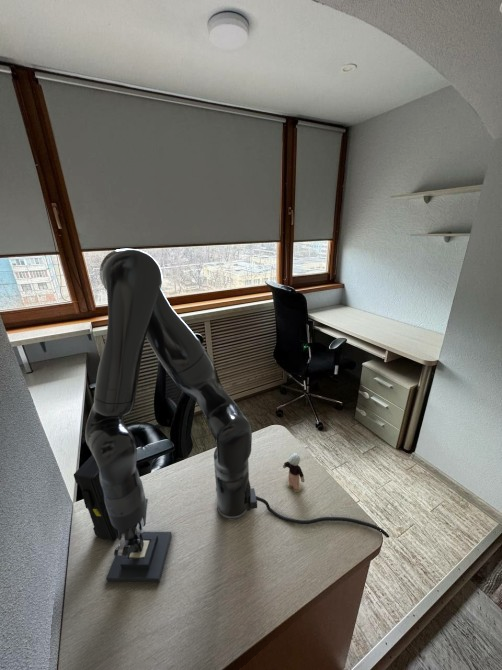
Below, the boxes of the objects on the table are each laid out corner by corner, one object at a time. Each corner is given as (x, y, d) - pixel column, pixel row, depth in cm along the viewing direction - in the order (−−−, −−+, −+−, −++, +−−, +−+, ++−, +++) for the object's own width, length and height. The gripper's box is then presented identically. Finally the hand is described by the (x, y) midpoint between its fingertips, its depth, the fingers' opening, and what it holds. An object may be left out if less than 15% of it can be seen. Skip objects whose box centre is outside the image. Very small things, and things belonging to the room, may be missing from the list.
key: (150, 544, 67) (149, 540, 66) (145, 561, 63) (144, 557, 63) (136, 544, 67) (135, 540, 66) (130, 561, 63) (128, 557, 63)
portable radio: (112, 546, 68) (89, 475, 59) (92, 541, 69) (65, 471, 60) (131, 516, 75) (113, 448, 66) (112, 512, 76) (91, 444, 67)
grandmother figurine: (306, 486, 83) (309, 456, 78) (302, 496, 80) (304, 465, 75) (284, 475, 87) (286, 445, 82) (279, 484, 84) (280, 454, 79)
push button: (171, 535, 70) (170, 527, 69) (159, 582, 61) (157, 573, 60) (126, 535, 71) (124, 527, 69) (107, 582, 61) (104, 573, 60)
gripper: (129, 531, 52) (143, 582, 58) (153, 472, 64) (162, 520, 71) (91, 530, 52) (109, 582, 58) (122, 472, 64) (134, 520, 71)
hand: (138, 548), depth 64 cm, fingers closed
